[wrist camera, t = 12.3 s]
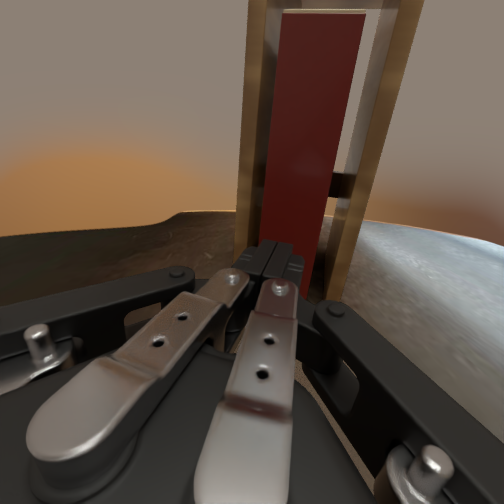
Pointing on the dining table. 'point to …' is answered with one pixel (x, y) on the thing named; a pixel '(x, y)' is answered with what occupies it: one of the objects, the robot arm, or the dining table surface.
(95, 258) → the dining table surface
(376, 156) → the wooden frame
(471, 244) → the dining table surface
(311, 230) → the hardcover
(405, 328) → the dining table surface
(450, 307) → the dining table surface
